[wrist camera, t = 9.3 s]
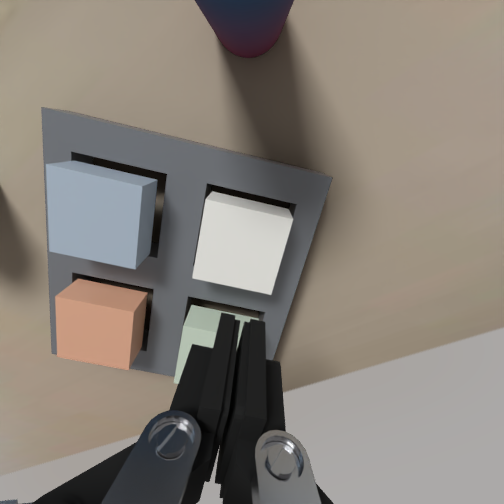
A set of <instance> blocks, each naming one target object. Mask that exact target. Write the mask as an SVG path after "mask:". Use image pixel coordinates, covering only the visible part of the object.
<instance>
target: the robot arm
mask: <svg viewBox="0 0 504 504" xmlns="http://www.w3.org/2000/svg"><path fill="white" fill-rule="evenodd" d="M239 327H240V320H236V319H235V315H232V314H227V313H222V312H221V316H220V321H219V325H218V329H217V333H216V337H215V342H214V346H213V348H210V347H205V346H201V345H196V344H192V346H191V349H190V352H189V354H188V357H187V360H186V363H185V366H184V369H183V372H182V375H181V378H180V381H179V384H178V386H177V389H176V392H175V395H174V398H173V401H172V404H171V407H170V410H169V411H166V412H163V413H161V414H158V415H157V416H156V417H154V418H153V419H151V421H150V422H149V423H148V425H147V426H146V427H145V429H144V431H143V432H142V434H141V436H140V438H139V439H138V441H137V442H136V443H134V444H132V445H131V446H129V447H127V448H125V449H124V450H122V451H120V452H119V453H117V454H115V455H113V456H111V457H110V458H108V459H106V460H104V461H103V462H101V463H99V464H98V465H96V466H94V467H92V468H90V469H89V470H87V471H85V472H84V473H82V474H80V475H78V476H76V477H75V478H73V479H71V480H69V481H68V482H66V483H64V484H62V485H61V486H59V487H57V488H56V489H54V490H52V491H50V492H48V493H47V494H45V495H43V496H42V497H40V498H39V499H38V500H36V501H35V502H32V503H22V504H196V503H197V502H198V501H199V500H200V497H201V493H202V489H203V485H204V482H205V481H206V482H209V481H210V478H211V474H212V471H213V467H214V463H215V460H216V456H217V453H218V449H219V456H218V462H217V469H216V477H215V483H218V484H221V490H220V498H223V504H333V502H332V501H331V500H330V499H329V498H328V497H327V496H326V494H325V493H324V492H323V491H322V490H321V489H320V487H319V486H318V485H317V484H316V483H315V479H314V475H313V472H312V469H311V464H310V461H309V458H308V455H307V453H306V450H305V448H304V447H303V446H302V444H301V443H300V441H298V440H297V439H296V438H295V437H294V436H293V435H291V434H289V433H287V432H286V430H285V417H284V405H283V391H282V378H281V366H280V362H278V361H273V360H268V359H266V331H265V322H264V321H259V320H255V319H250V322H244V325H243V329H242V332H241V336H240V340H239V344H238V347H237V343H238V335H239ZM219 446H220V448H219ZM0 504H18V500H5V501H0Z"/></svg>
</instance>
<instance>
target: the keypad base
mask: <svg viewBox="0 0 504 504" xmlns="http://www.w3.org/2000/svg"><path fill="white" fill-rule="evenodd" d="M41 108H42V132H43V156H44V180H45V204H46V228H47V252H48V275H49V299H50V323H51V347H52V354H56V355H57V336H56V306H55V296H56V295H58V294H59V293H60V292H62V291H63V290H64V289H65V288H67V287H68V286H69V285H70V284H72V283H73V282H74V281H76V280H77V279H83V280H88V281H91V276H93V277H97V278H102V279H107V280H112V281H117V282H122V283H126V284H131V285H136V286H141V287H146V288H151V289H154V292H153V301H152V309H151V318H150V327H149V330H145V329H144V331H143V341H142V347H141V349H140V351H139V353H138V354H137V356H136V358H135V360H134V362H133V363H132V365H131V367H130V368H131V369H136V370H141V371H147V372H152V373H157V374H163V375H168V376H173V377H175V372H176V366H177V360H178V354H179V348H180V342H181V337H182V331H183V325H184V323H185V320H186V318H187V315H188V313H189V310H190V306H191V300H192V297H194V298H199V299H204V300H209V301H214V302H218V303H223V304H228V305H233V306H238V307H243V308H247V309H252V310H257V311H260V313H259V317H258V319H259V321H264V322H265V331H266V359H268V360H273V358H274V355H275V352H276V349H277V346H278V343H279V340H280V337H281V334H282V330H283V327H284V324H285V321H286V318H287V315H288V312H289V309H290V306H291V303H292V300H293V297H294V294H295V291H296V288H297V285H298V282H299V279H300V276H301V273H302V269H303V266H304V263H305V260H306V257H307V254H308V251H309V248H310V245H311V242H312V239H313V236H314V233H315V230H316V227H317V224H318V221H319V218H320V215H321V212H322V208H323V205H324V202H325V199H326V196H327V193H328V190H329V187H330V184H331V181H332V177H330V176H328V175H326V174H325V173H321V172H317V171H313V170H309V169H305V168H301V167H297V166H293V165H289V164H284V163H280V162H276V161H272V160H268V159H264V158H260V157H256V156H252V155H247V154H243V153H239V152H235V151H231V150H227V149H223V148H219V147H215V146H210V145H206V144H202V143H198V142H194V141H190V140H186V139H182V138H178V137H173V136H169V135H165V134H161V133H157V132H153V131H149V130H145V129H141V128H137V127H132V126H128V125H124V124H120V123H116V122H112V121H108V120H104V119H100V118H95V117H91V116H87V115H83V114H79V113H75V112H71V111H66V110H59V109H51V108H44V107H41ZM93 157H97V158H101V159H106V160H110V161H114V162H118V163H123V164H127V165H131V166H136V167H140V168H144V169H148V170H153V171H157V172H161V173H165V174H167V179H166V187H165V196H164V205H163V213H162V222H161V231H160V240H159V244H158V243H153V242H151V249H150V254H149V255H148V256H147V257H146V259H145V260H144V261H143V262H142V263H141V264H140V265H139V266H138V267H137V268H136V269H131V268H126V267H121V266H117V265H112V264H107V263H102V262H98V261H93V260H88V259H83V258H79V257H74V256H69V255H64V254H59V253H55V252H50V251H49V231H48V205H47V180H46V164H51V163H59V162H67V161H79V162H83V163H87V164H92V165H93ZM211 185H217V186H221V187H225V188H229V189H234V190H238V191H242V192H246V193H251V194H255V195H259V196H264V197H268V198H272V199H276V200H281V201H285V202H289V203H291V204H290V207H289V211H290V213H291V215H292V218H293V222H292V226H291V229H290V232H289V236H288V239H287V243H286V246H285V249H284V253H283V256H282V260H281V263H280V267H279V270H278V273H277V277H276V280H275V284H274V287H273V290H272V294H271V295H269V294H264V293H260V292H255V291H250V290H245V289H241V288H236V287H231V286H226V285H222V284H217V283H212V282H207V281H203V280H198V279H193V278H192V276H193V270H194V264H195V259H196V253H197V247H198V241H199V235H200V229H201V223H202V217H203V211H204V205H205V200H206V198H207V197H208V196H209V195H210V191H211Z"/></svg>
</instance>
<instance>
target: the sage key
mask: <svg viewBox="0 0 504 504" xmlns="http://www.w3.org/2000/svg"><path fill="white" fill-rule="evenodd" d="M221 312H222V313H227V314H232V315H235V319H236V320H240V327H239V335H238V343H237V347H238V344H239V340H240V336H241V332H242V329H243V325H244V322H250V319H255V320H259V319H258V318H253V317H248V316H244V315H239V314H234V313H229V312H224V311H219V310H214V309H209V308H204V307H200V306H195V305H191V308H190V310H189V313H188V315H187V318H186V320H185V323H184V325H183V331H182V337H181V342H180V348H179V354H178V360H177V366H176V372H175V378H174V383H176V384H179V381H180V378H181V375H182V372H183V369H184V366H185V363H186V360H187V357H188V354H189V352H190V349H191V346H192V344H196V345H201V346H205V347H210V348H213V346H214V342H215V337H216V333H217V329H218V325H219V321H220V316H221Z"/></svg>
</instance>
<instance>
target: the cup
mask: <svg viewBox="0 0 504 504" xmlns="http://www.w3.org/2000/svg"><path fill="white" fill-rule="evenodd" d="M195 1H196V3H197V5H198V6H199V8H200V9H201V11H202V13H203V14H204V16H205V18H206V19H207V21H208V22H209V24H210V26H211V27H212V29H213V30H214V32H215V34H216V35H217V37H218V38H219V40H220V41H221V43H222V44H223V45H224V47H225V48H226V49H228V50H229V51H230V52H231V53H233V54H235V55H237V56H240V57H245V58H252V57H257V56H259V55H262V54H263V53H265V52H267V51H268V50H269V49H270V48H271V47H272V46H273V45H274V44H275V42H276V41H277V39H278V37H279V35H280V33H281V30H282V28H283V26H284V23H285V21H286V18H287V16H288V14H289V11H290V9H291V6H292V4H293V1H294V0H195Z"/></svg>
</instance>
